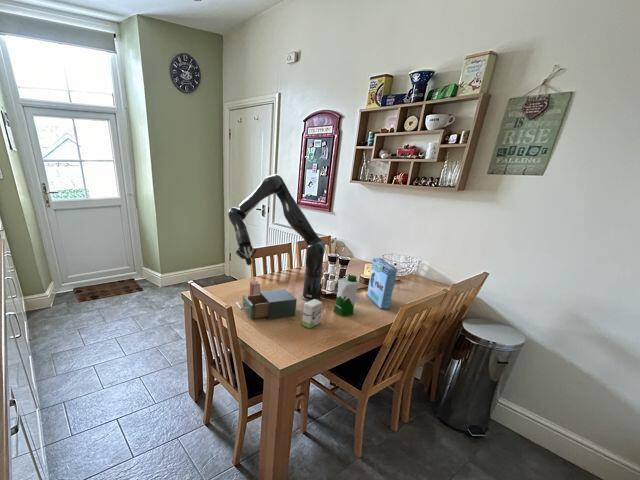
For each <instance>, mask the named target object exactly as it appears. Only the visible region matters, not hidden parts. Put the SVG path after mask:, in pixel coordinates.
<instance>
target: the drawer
mask: <svg viewBox="0 0 640 480" xmlns="http://www.w3.org/2000/svg"><path fill="white" fill-rule="evenodd" d="M235 305H236V306H237V307H238V309H239V310H240V311H241V312H242V311H244V312H245V314H246V316H247V317H248V318H249V319H250V321H252V320H254V319H259V318H267V317H266V316H268V314H269V302H268V301H267V300H266V299H265V298H264V297H263V296H262V295H261V294H259V295H250V294H249V295H248V296H247V295H246V294H243V295H242V302H239V301H237V302H236V304H235Z"/></svg>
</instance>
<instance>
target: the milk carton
mask: <svg viewBox="0 0 640 480" xmlns="http://www.w3.org/2000/svg"><path fill="white" fill-rule="evenodd" d="M359 286H360V282H359V281H358V280H357V276H356V275H353V274H351V275H348V277H345V278H344V277H343V278H339V279H337V291H338V292H337V291H336V292H337V293H336V299H335V304H334V308H333V312H335V313H336V314H338V315H339V316H340V317H346V316H351V315H354V308H355V302H356V296H357V291H358V290H357V288H359Z"/></svg>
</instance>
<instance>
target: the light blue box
mask: <svg viewBox="0 0 640 480" xmlns="http://www.w3.org/2000/svg"><path fill="white" fill-rule="evenodd" d="M397 272H398V269H397V268H396V267H394V266H393V265H391V263H389V262H387V261H386V260H384V259H383V258H381V257H375V258H374V257H373V259H372V265H371V272H370V276H369V281H368V286H367V287H368V288H367V292H366V296H367V297H368V298H369V299H370V300H371V301H373V303H374V304H375V305H376V306H377V307H378V308H379V309H380V310H389V309H390V305H391V301H392V296H393V292H394V287H395V283H396V282H395V280H396V279H397V278H396V277H397Z"/></svg>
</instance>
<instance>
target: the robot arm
mask: <svg viewBox="0 0 640 480" xmlns="http://www.w3.org/2000/svg"><path fill="white" fill-rule="evenodd" d="M272 195H275V196H276V197H277V198H278V200H279V201H280V204H281V208H282V213H283V216H284V218H285V220H286V222H287V223H288V225H289V226H290V227H291V228H292V230H294V231H295V232H296V234H298V235H299V236H300V237H301V238H302V239H303V240H304V242H305V244H306V246H307V248H306V253H305V263H304V264H305V270H304V280H303V290H302V296H301V297H302V300H305V301H307V302H309V301H311V300H313V299H316V300H318V301H320V300H321V297H322V295H323V294H324V295H326V296H332V295H335V294H336V293H333V292H329V293H328V294H326V293H327V292H326V291H325V290H322V289H323V283H322V278H323V277H322V276H323V269H324V266H323V263H324V255H325V254H326V251H327V246H326V244H325V242H324V241H323V240H322V239H321V237H320V236H319V235H318V234H317V233H316V232H315V230H314V228H313V226H312V225H311V223H310V221H309V220H308V218H307V217H306V215H305V213H304V212H303V211H302V209H301V208H300V207H299V205H298V203H297V202H296V200H295V199H294V197H293V196H292V194H291V192H290V190H289V188H288V186H287V185H286V183H285V180H284V179H283V178H282V176H281V175H279V174H277V173H274V174H271V175H269V176H266V177H265V178H264V179H263V180H262V181H261V183H260V184H259V185H258V186H257V188H256V189H255V190H254V191H253V192H252V193H251V194H250V195H248V196H247V197H246V198H245V199H244V200H242V201H241V202H240V203H239V206H238V207H230V208H229V210H228V212H227V213H228V215H227V216H228V219H229V221H230V222H231V224H232V226H233V228H234V232H235V239H236V243H237V246H238V248H237V250H236V251H235V254H236V255H237V256H238V257H239V258H240V259H242V260H244V261H245V263H246V265H247V266H251V265H252V263H253V261H252V259H253V257H255V254H256V252H257V248H254V247H253V245H252V242H251V239H250V233H249V231H248V229H247V225H246V222H245V221H244V220H246V218H247V216H248V214H249V213H250V212H251V211H253V210H254V209H255V208H256V207H257V206H258V205H259V203H260V202H261V201H263V200H264V199H266V198H268V197H269V196H272ZM401 280H402V279H401V278H399V279H395V283H396V282H400V281H401ZM365 289H366V290H367V289H368V286H364V287H358V288H357V291H361V290H365Z"/></svg>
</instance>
